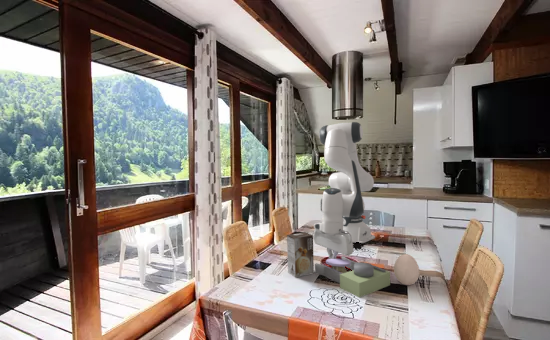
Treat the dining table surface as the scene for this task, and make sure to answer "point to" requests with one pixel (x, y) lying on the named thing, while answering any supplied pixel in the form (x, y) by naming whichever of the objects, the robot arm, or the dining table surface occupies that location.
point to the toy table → (338, 264)
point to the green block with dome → (364, 279)
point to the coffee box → (300, 254)
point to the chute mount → (331, 270)
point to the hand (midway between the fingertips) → (332, 259)
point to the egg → (406, 269)
